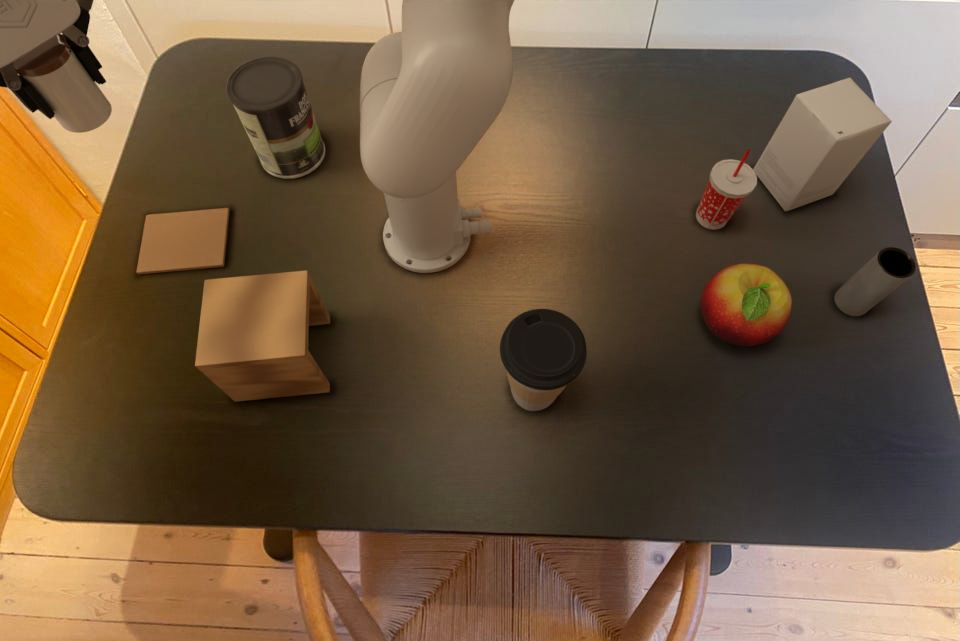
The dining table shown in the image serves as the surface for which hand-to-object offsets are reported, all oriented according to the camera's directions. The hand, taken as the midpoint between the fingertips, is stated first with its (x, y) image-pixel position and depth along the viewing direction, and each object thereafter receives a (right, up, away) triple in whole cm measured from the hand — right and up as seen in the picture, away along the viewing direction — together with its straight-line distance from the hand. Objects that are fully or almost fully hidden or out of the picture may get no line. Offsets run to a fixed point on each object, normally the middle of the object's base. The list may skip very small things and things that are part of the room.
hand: (69, 92), depth 61 cm
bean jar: (0, -1, +3) cm, 3 cm away
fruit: (+75, -23, +21) cm, 81 cm away
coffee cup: (+48, -32, +17) cm, 60 cm away
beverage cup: (+75, -8, +29) cm, 81 cm away
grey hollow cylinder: (+92, -20, +22) cm, 97 cm away
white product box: (+89, -2, +32) cm, 94 cm away
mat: (-2, -11, +27) cm, 29 cm away
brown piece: (+15, -28, +19) cm, 37 cm away
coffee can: (+12, +3, +35) cm, 37 cm away
